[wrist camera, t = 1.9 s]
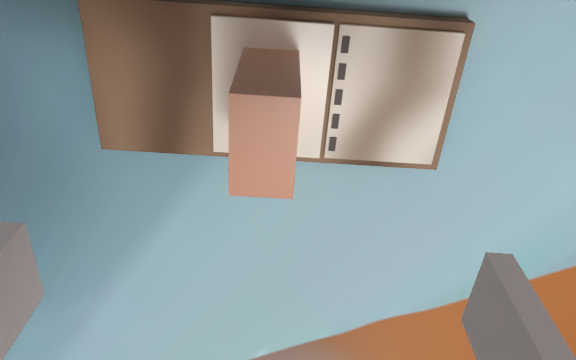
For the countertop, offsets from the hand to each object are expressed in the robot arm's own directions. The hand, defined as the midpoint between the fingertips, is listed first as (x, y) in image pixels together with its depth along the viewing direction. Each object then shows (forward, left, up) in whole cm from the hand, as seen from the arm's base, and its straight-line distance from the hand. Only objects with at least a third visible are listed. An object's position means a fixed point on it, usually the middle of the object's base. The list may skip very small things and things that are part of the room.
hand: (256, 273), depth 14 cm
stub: (0, 0, -15) cm, 15 cm away
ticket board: (0, 0, -17) cm, 17 cm away
